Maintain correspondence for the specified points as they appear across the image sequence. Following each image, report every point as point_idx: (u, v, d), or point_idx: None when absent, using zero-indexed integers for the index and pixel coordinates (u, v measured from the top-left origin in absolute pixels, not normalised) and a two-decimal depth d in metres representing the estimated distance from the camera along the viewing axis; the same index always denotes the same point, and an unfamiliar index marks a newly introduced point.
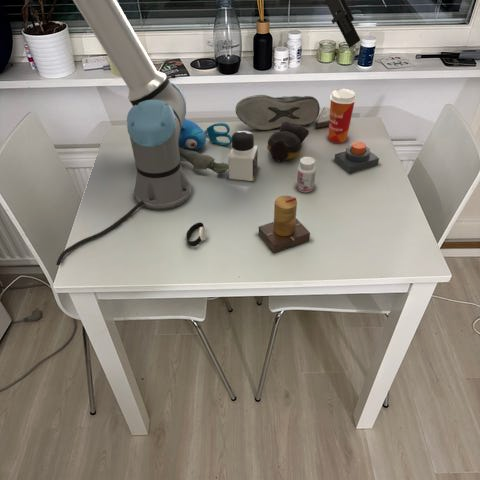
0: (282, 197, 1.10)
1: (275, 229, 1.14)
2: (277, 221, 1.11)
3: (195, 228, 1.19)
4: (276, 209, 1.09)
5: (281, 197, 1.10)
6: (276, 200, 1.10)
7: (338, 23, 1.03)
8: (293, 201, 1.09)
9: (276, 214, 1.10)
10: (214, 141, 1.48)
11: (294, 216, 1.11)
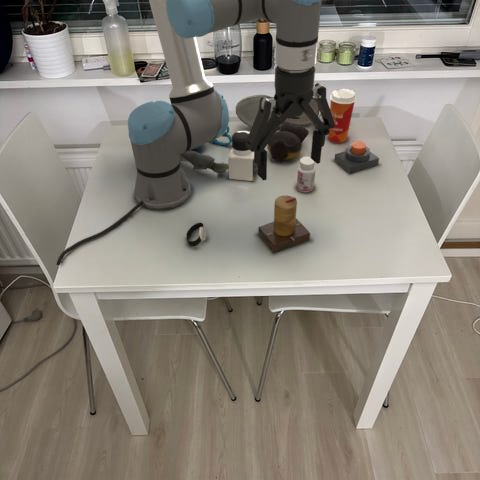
0: (282, 197, 1.10)
1: (275, 229, 1.14)
2: (277, 221, 1.11)
3: (195, 228, 1.19)
4: (276, 209, 1.09)
5: (281, 197, 1.10)
6: (276, 200, 1.10)
7: None
8: (293, 201, 1.09)
9: (276, 214, 1.10)
10: (214, 141, 1.48)
11: (294, 216, 1.11)
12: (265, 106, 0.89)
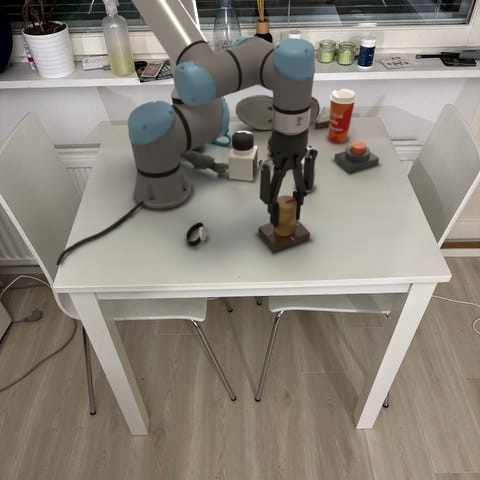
0: (282, 197, 1.10)
1: (275, 229, 1.14)
2: None
3: (195, 228, 1.19)
4: None
5: (281, 197, 1.10)
6: None
7: None
8: (293, 201, 1.09)
9: None
10: None
11: (294, 216, 1.11)
12: (263, 169, 0.99)
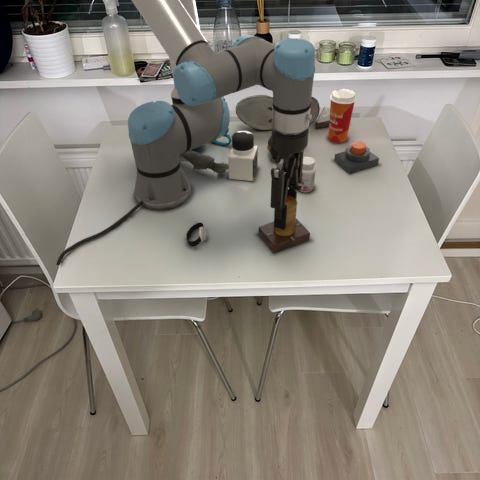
0: None
1: (280, 232, 1.13)
2: None
3: (195, 228, 1.19)
4: None
5: None
6: None
7: None
8: (291, 198, 1.10)
9: None
10: None
11: None
12: (280, 175, 0.97)
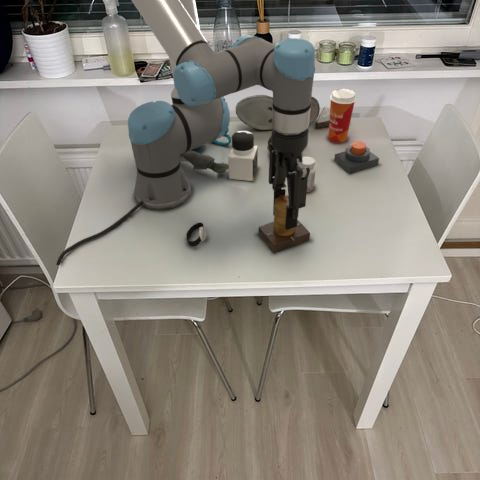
0: (278, 203, 1.09)
1: (290, 231, 1.13)
2: None
3: (195, 228, 1.19)
4: None
5: (278, 204, 1.09)
6: (283, 207, 1.08)
7: (289, 208, 1.07)
8: (285, 197, 1.10)
9: None
10: None
11: None
12: (308, 173, 0.98)
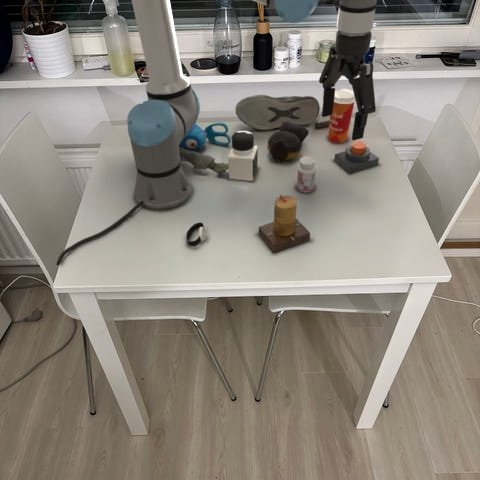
0: (278, 203, 1.09)
1: (290, 231, 1.13)
2: (293, 221, 1.11)
3: (195, 228, 1.19)
4: (291, 211, 1.09)
5: (278, 204, 1.09)
6: (283, 207, 1.08)
7: (358, 116, 1.08)
8: (285, 197, 1.10)
9: (291, 216, 1.10)
10: (212, 141, 1.48)
11: None
12: (372, 68, 1.01)
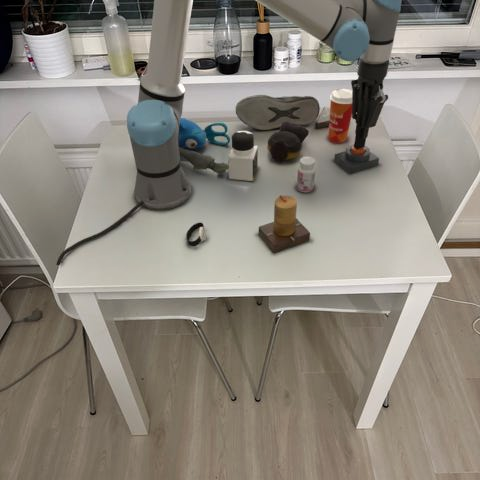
0: (278, 203, 1.09)
1: (290, 231, 1.13)
2: (293, 221, 1.11)
3: (195, 228, 1.19)
4: (291, 211, 1.09)
5: (278, 204, 1.09)
6: (283, 207, 1.08)
7: (361, 129, 1.30)
8: (285, 197, 1.10)
9: (291, 216, 1.10)
10: (212, 141, 1.48)
11: None
12: (386, 99, 1.20)
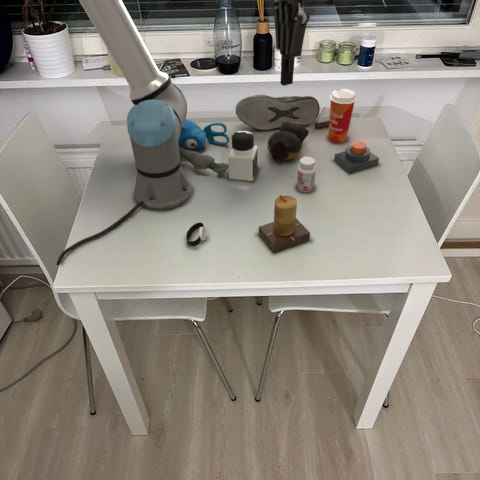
0: (278, 203, 1.09)
1: (290, 231, 1.13)
2: (293, 221, 1.11)
3: (195, 228, 1.19)
4: (291, 211, 1.09)
5: (278, 204, 1.09)
6: (283, 207, 1.08)
7: (285, 60, 1.14)
8: (285, 197, 1.10)
9: (291, 216, 1.10)
10: (211, 141, 1.48)
11: None
12: (307, 19, 1.04)
